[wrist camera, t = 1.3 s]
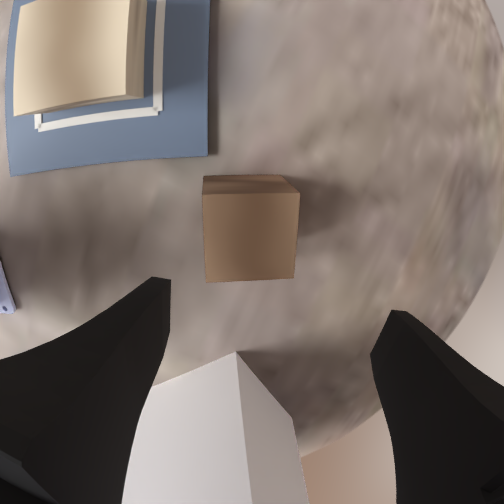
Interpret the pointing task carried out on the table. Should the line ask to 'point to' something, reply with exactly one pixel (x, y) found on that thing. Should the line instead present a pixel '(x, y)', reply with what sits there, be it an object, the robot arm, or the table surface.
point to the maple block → (78, 54)
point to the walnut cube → (249, 227)
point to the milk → (214, 442)
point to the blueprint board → (125, 102)
